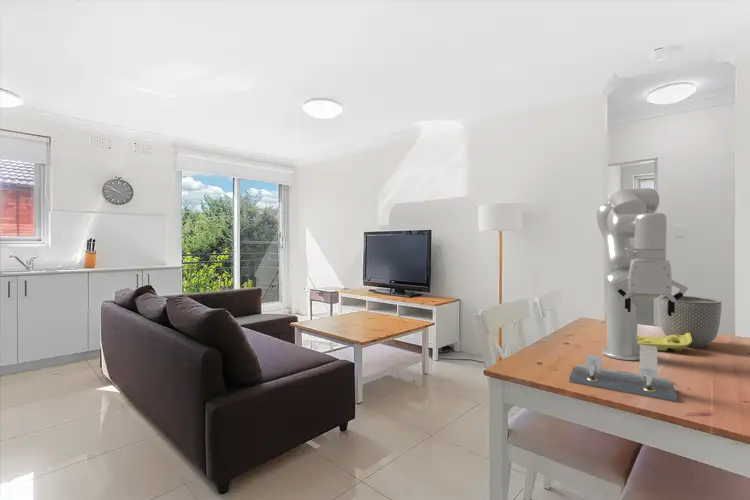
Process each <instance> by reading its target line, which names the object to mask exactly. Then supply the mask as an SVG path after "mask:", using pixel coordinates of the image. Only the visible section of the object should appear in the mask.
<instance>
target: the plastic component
mask: <svg viewBox="0 0 750 500" xmlns="http://www.w3.org/2000/svg"><path fill="white" fill-rule="evenodd" d="M691 342H692V337H691V334H690V333H685V334H684V335H678V334H677V335H668V336H666V335H665V337H660V336H644V335H643V336H641V335H637V344H639V345H640V344H641V345H649V346H656V347H657V351H663V352H664V351H665V352H666V351H668V349H671V350H673V351H674V352H681V351H683V348H688V347H687V346H688V345H689V344H691Z"/></svg>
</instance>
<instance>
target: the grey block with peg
mask: <svg viewBox="0 0 750 500" xmlns="http://www.w3.org/2000/svg"><path fill="white" fill-rule="evenodd" d="M639 353H640V360H639V374H640V376H643V377H646V378H647V382H646V387H647V388H652V378H656V379H657V377H658V350H657V347H656V346H649V345H641V344H640V351H639Z"/></svg>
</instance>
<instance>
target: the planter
mask: <svg viewBox="0 0 750 500" xmlns="http://www.w3.org/2000/svg"><path fill="white" fill-rule="evenodd" d="M672 295H673V294H672ZM674 295H675V294H674ZM674 295H673V296H674ZM668 300H669V298H668V297H667V296H666V295H660V296H659V297H658V304H659V305H658V306H659V318H660V319H659V320H660V321H659V322H660V326H661V327H660V328H661V329H662V332H663V333H664V334H665V337H666V336H668V335H677V334H678V335H684V334H685V333H690V334H691V337H692V342H691V344H689V345H688V346H687V347H686V348H692V349H702V348H705V347H706V346H707V344H709V343H712V342H713V341H714V340H716V338H717V336H718V333H719V329H720V324H721V314H722V309H723V308H722V307H723V306H722V304H723V303H722V301H721V300H719V299H715V298H710V297H704V296H703V297H702V296H693V295H683V296H682V297H681V298H680V299H678V300H677V301H676V302H675V312H674V313H672V316H669V315H668V314H667V309H668Z"/></svg>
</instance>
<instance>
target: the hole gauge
mask: <svg viewBox="0 0 750 500" xmlns="http://www.w3.org/2000/svg"><path fill="white" fill-rule="evenodd" d="M568 382H570V383H575V384H580V385H584V386H590V387H595V388H600V389H607V390H610V391H611V390H612V391H618V392H622V393H628V394H632V395H633V394H634V395H638V394H639V396H643V395H644V396H643V397H648V396H649V398H655V399H660V400H665V401H671V402H676V403H677V402H678V395H677V393H676V390H675V387H674V384H673V383H671V380H670V378H665V377H661V376H659V377H658V376H657V379H656V378H652V388H647V387H646V382H647V378H646V377H643V376H640V373H634V372H629V371H622V370H616V369H611V368H603V367H602V356H600V355H593V354H588V353H587V354H586V356H585V364H579V363H575V365H574V367H572V370H571V372H570V374H569V381H568Z"/></svg>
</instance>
